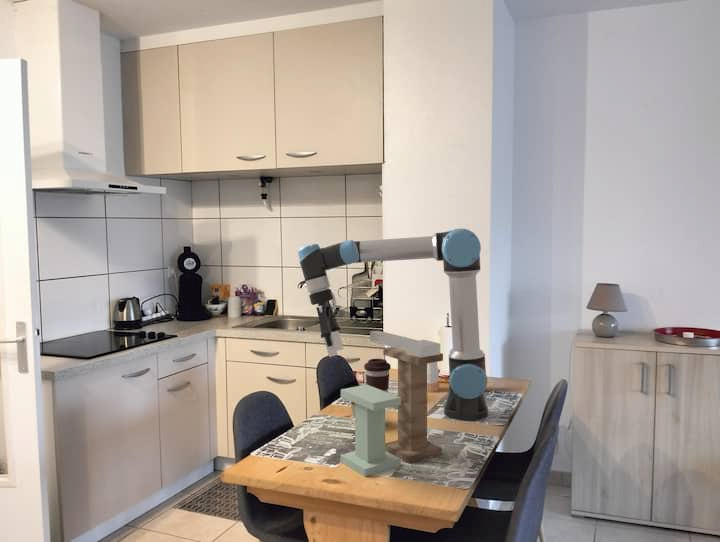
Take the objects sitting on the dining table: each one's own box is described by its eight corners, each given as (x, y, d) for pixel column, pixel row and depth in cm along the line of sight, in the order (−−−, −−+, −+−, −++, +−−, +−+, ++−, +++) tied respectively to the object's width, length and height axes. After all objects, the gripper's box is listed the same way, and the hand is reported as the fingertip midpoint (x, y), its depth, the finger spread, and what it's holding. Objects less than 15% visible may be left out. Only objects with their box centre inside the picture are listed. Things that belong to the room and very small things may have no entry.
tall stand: (379, 448, 180) (379, 348, 178) (411, 439, 187) (411, 343, 184) (413, 466, 167) (413, 358, 164) (446, 456, 174) (446, 353, 171)
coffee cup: (389, 403, 224) (389, 363, 223) (362, 402, 226) (362, 363, 224) (391, 396, 234) (391, 357, 233) (366, 395, 235) (366, 357, 234)
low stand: (336, 459, 172) (336, 390, 170) (371, 450, 178) (371, 383, 177) (369, 479, 158) (368, 404, 157) (405, 468, 165) (405, 396, 164)
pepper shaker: (425, 392, 238) (425, 344, 237) (418, 387, 245) (418, 341, 244) (442, 391, 240) (442, 343, 239) (435, 386, 247) (435, 340, 246)
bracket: (364, 341, 188) (364, 332, 188) (383, 339, 192) (383, 329, 192) (420, 357, 166) (421, 346, 166) (440, 354, 170) (440, 343, 169)
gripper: (315, 292, 214) (331, 350, 213) (300, 295, 189) (319, 361, 188) (336, 286, 213) (352, 345, 212) (323, 289, 188) (342, 355, 188)
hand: (336, 353), depth 200 cm, fingers open, 13 cm apart
